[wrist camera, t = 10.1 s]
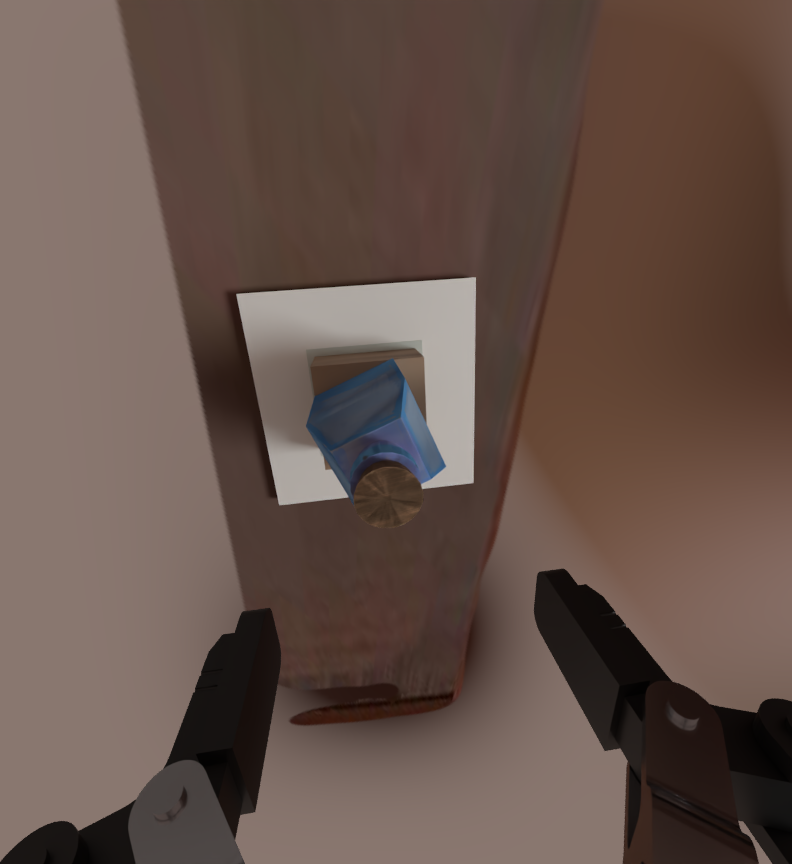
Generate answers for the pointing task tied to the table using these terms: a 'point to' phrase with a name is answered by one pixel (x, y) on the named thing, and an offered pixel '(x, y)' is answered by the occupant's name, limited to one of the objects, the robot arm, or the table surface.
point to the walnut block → (347, 366)
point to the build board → (358, 333)
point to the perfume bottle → (376, 444)
